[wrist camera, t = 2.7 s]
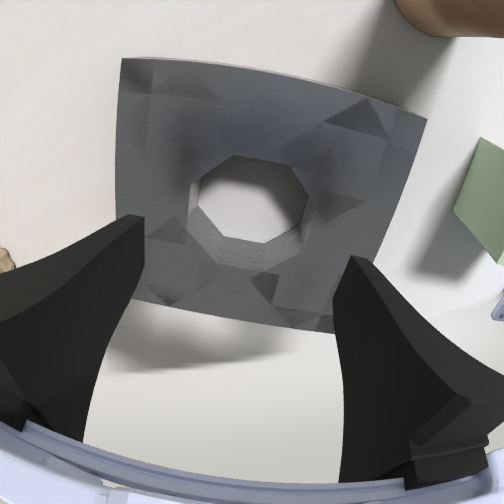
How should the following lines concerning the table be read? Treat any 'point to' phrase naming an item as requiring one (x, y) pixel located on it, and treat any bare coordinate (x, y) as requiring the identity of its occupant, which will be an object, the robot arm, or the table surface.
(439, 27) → the walnut peg
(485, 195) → the square bit
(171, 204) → the socket block
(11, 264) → the handle
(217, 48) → the table surface
